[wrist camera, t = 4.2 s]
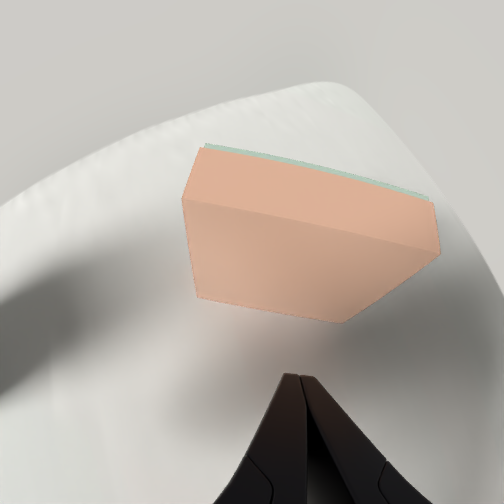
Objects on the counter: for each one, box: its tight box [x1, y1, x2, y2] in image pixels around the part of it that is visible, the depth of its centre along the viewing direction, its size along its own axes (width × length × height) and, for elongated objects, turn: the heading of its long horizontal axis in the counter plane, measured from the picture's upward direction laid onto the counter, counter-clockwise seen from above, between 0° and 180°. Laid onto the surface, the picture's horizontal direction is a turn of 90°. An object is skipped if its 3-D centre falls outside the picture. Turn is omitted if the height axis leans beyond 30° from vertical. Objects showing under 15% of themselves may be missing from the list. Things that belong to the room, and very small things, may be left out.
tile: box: [182, 143, 441, 323], centre depth 13 cm, size 2×8×9 cm, turn 81°
